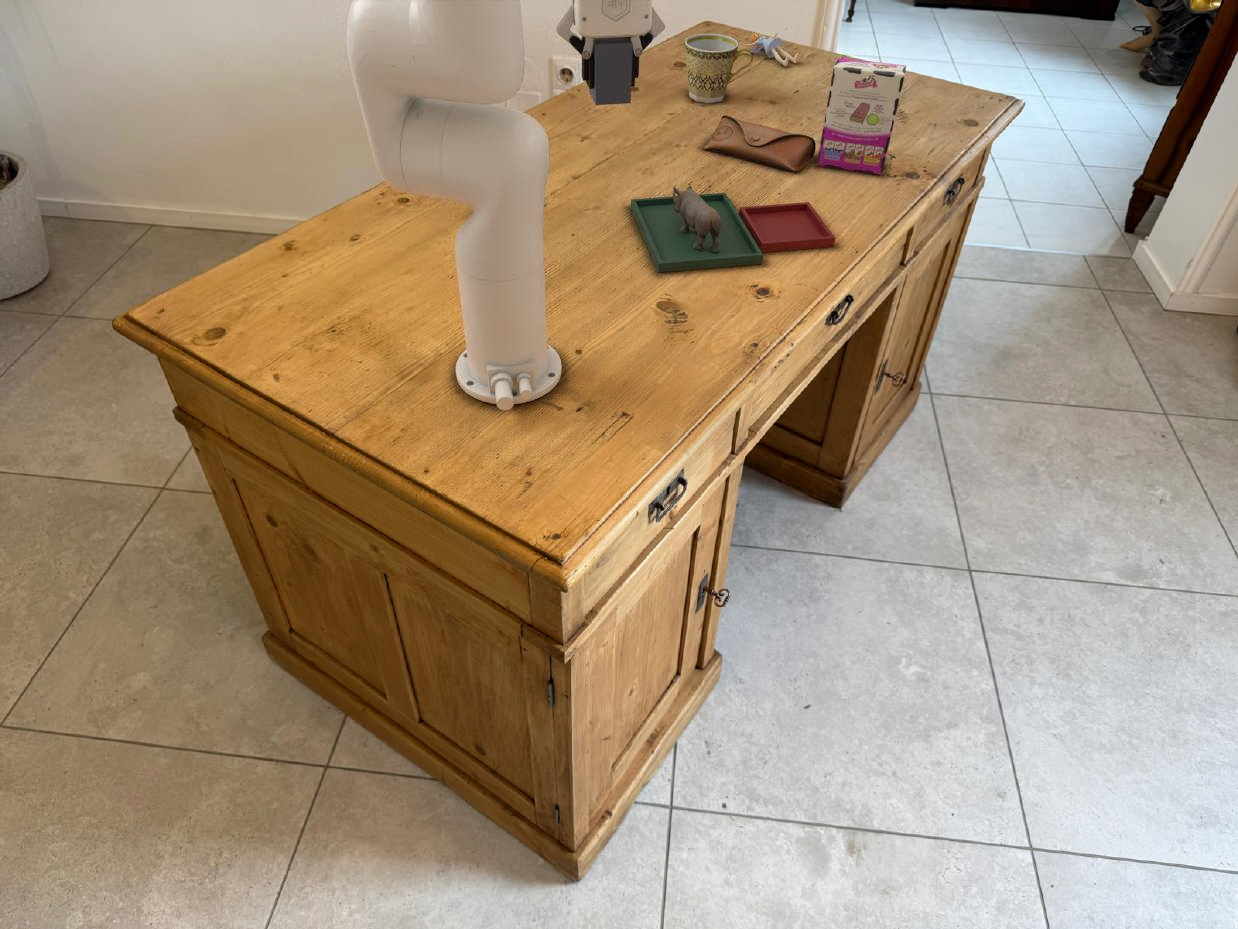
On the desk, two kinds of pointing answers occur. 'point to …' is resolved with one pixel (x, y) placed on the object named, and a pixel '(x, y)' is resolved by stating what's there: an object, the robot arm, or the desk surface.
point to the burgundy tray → (786, 227)
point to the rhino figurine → (697, 217)
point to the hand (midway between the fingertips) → (610, 82)
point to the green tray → (693, 236)
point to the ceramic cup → (711, 65)
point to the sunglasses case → (762, 144)
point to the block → (612, 70)
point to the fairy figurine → (771, 48)
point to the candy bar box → (860, 115)
